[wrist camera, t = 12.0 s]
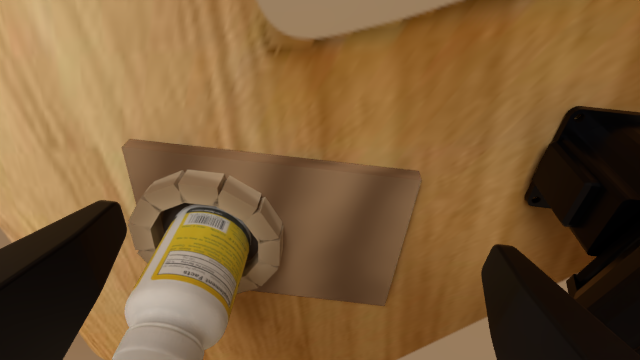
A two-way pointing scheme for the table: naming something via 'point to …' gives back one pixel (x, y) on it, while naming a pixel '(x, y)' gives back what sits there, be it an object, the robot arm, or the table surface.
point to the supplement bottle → (186, 287)
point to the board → (282, 215)
